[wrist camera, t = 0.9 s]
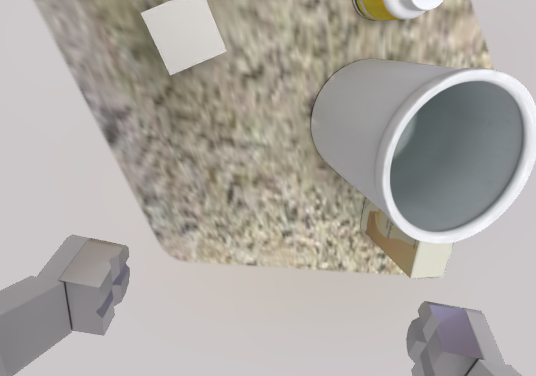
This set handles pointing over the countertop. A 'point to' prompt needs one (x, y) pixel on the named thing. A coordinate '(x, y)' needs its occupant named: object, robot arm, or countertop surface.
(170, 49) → the canister
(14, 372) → the robot arm
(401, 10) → the supplement bottle
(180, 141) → the countertop surface
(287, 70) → the countertop surface
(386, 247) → the skincare box
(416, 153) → the utensil holder
